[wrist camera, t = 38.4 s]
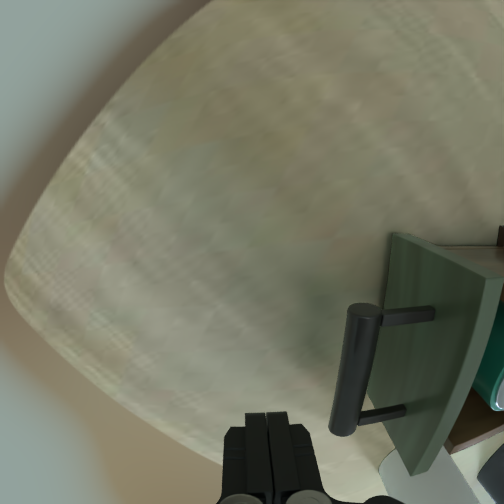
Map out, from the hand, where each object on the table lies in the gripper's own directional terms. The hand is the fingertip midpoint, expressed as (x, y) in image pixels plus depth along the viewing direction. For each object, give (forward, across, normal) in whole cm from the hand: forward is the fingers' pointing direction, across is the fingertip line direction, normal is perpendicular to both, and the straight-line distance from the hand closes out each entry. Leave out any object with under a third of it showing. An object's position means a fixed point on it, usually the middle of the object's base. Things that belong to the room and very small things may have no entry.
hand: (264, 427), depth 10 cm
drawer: (+8, -12, 0) cm, 15 cm away
